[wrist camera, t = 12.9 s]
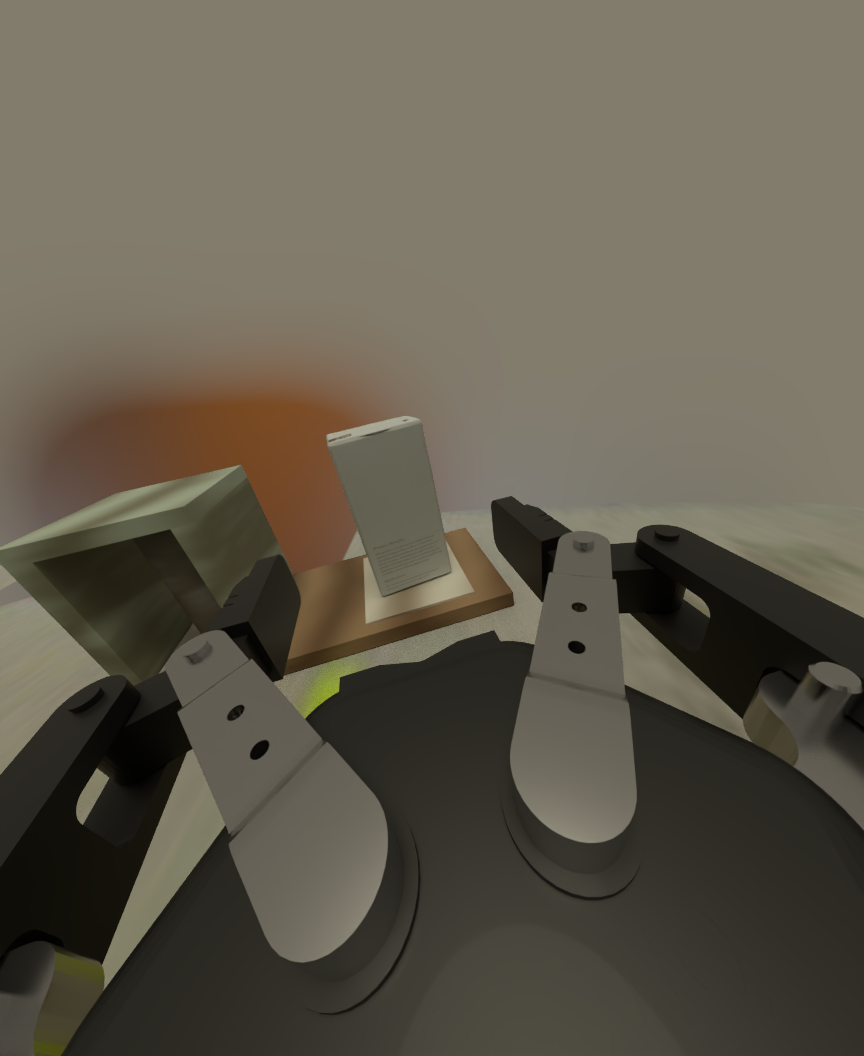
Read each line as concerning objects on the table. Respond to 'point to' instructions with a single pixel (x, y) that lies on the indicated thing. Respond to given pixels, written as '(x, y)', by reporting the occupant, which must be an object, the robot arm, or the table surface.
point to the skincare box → (392, 500)
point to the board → (220, 578)
